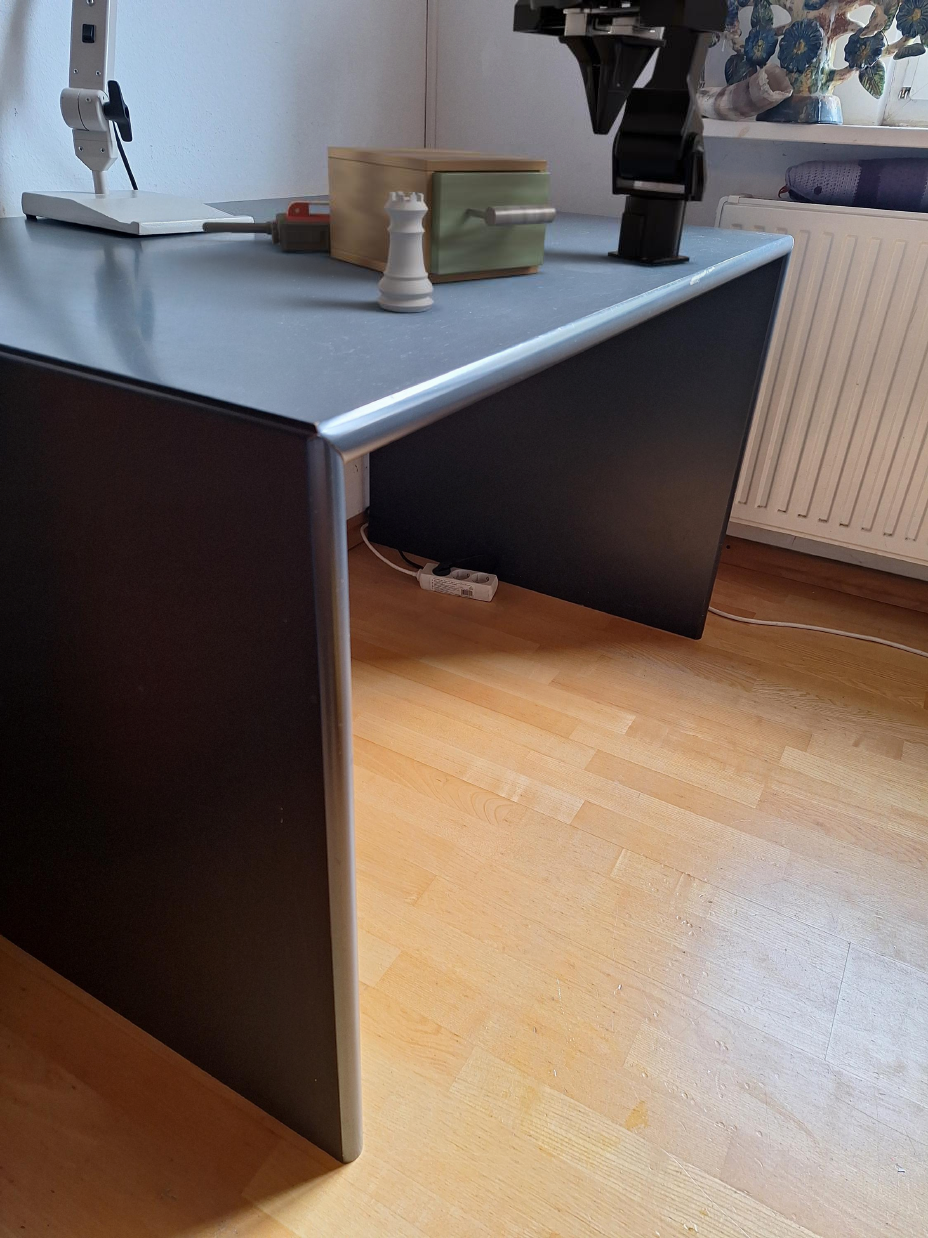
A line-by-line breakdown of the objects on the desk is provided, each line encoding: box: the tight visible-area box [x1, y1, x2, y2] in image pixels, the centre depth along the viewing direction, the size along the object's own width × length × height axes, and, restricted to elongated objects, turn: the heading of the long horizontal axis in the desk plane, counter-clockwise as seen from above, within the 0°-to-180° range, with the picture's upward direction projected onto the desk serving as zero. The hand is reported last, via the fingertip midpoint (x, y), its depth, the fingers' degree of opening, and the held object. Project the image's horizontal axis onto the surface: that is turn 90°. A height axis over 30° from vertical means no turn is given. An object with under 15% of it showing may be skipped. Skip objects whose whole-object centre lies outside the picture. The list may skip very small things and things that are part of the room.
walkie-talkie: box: [201, 199, 331, 253], centre depth 90 cm, size 9×4×20 cm
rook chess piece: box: [376, 192, 435, 313], centre depth 65 cm, size 4×4×8 cm
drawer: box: [431, 171, 557, 275], centre depth 80 cm, size 18×12×8 cm
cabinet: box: [326, 146, 548, 284], centre depth 82 cm, size 16×14×10 cm
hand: (600, 134), depth 74 cm, fingers closed
